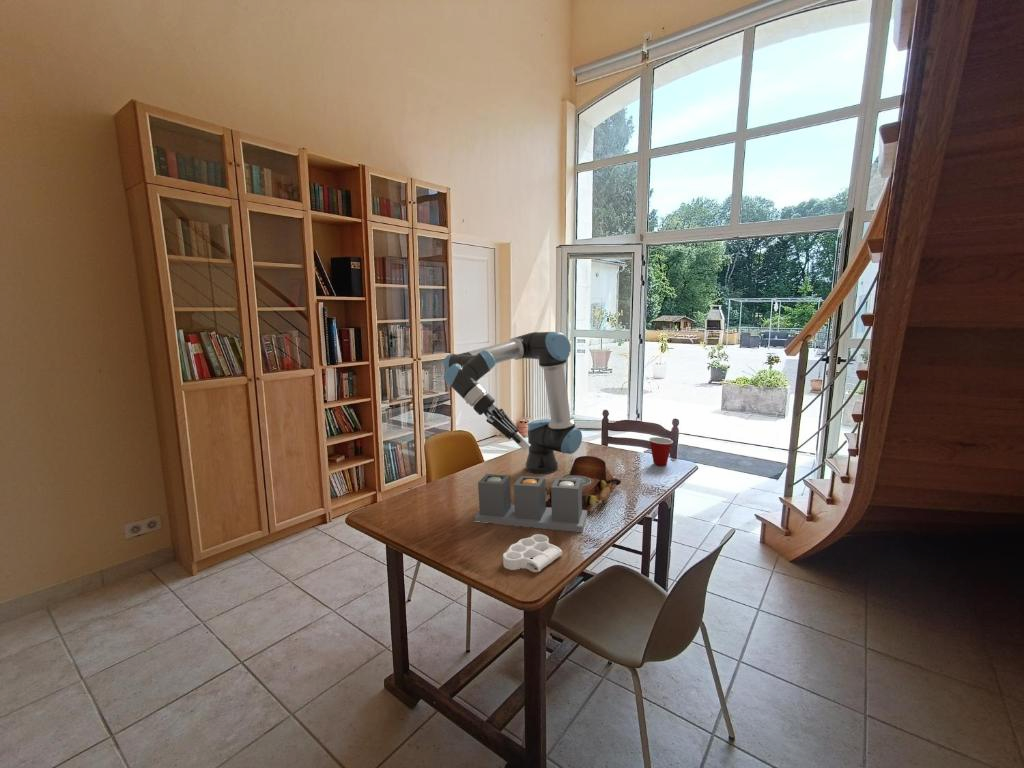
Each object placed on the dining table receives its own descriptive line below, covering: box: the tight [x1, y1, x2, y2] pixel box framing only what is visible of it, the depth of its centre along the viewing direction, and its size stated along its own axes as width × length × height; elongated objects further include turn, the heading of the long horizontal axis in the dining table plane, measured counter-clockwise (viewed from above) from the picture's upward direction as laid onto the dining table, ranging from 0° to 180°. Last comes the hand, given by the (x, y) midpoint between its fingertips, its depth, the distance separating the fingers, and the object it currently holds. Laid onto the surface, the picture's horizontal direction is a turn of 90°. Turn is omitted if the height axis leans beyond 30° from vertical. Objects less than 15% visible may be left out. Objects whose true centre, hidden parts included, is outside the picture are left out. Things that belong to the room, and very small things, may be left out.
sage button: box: [487, 477, 501, 482], centre depth 164 cm, size 5×5×4 cm
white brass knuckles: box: [502, 533, 563, 573], centre depth 136 cm, size 3×18×15 cm
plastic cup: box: [648, 436, 674, 467], centre depth 214 cm, size 11×11×12 cm
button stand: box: [473, 473, 588, 533], centre depth 161 cm, size 38×13×14 cm, turn 74°
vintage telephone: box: [545, 455, 622, 513], centre depth 182 cm, size 24×12×40 cm
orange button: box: [523, 479, 537, 485], centre depth 160 cm, size 5×5×4 cm
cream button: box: [559, 481, 574, 487], centre depth 157 cm, size 5×5×4 cm
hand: (527, 448), depth 158 cm, fingers closed
